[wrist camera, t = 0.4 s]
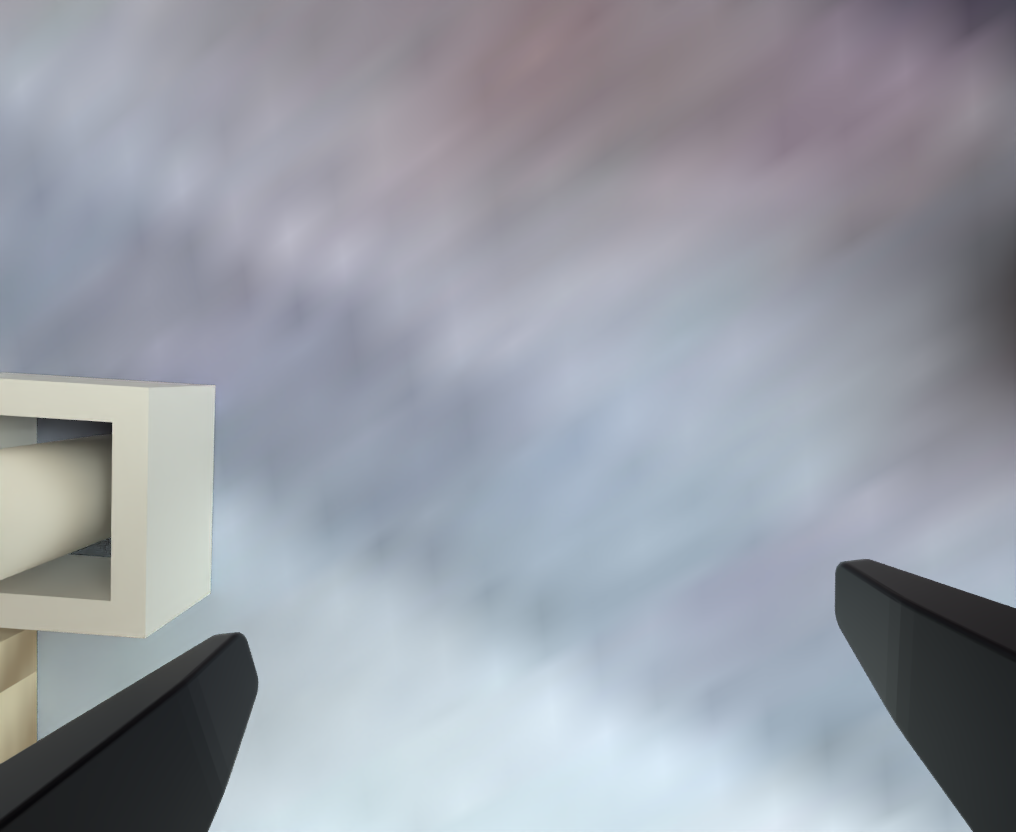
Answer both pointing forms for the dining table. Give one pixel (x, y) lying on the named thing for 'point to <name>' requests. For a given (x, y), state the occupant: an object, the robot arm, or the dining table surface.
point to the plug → (53, 500)
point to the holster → (122, 506)
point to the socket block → (17, 691)
